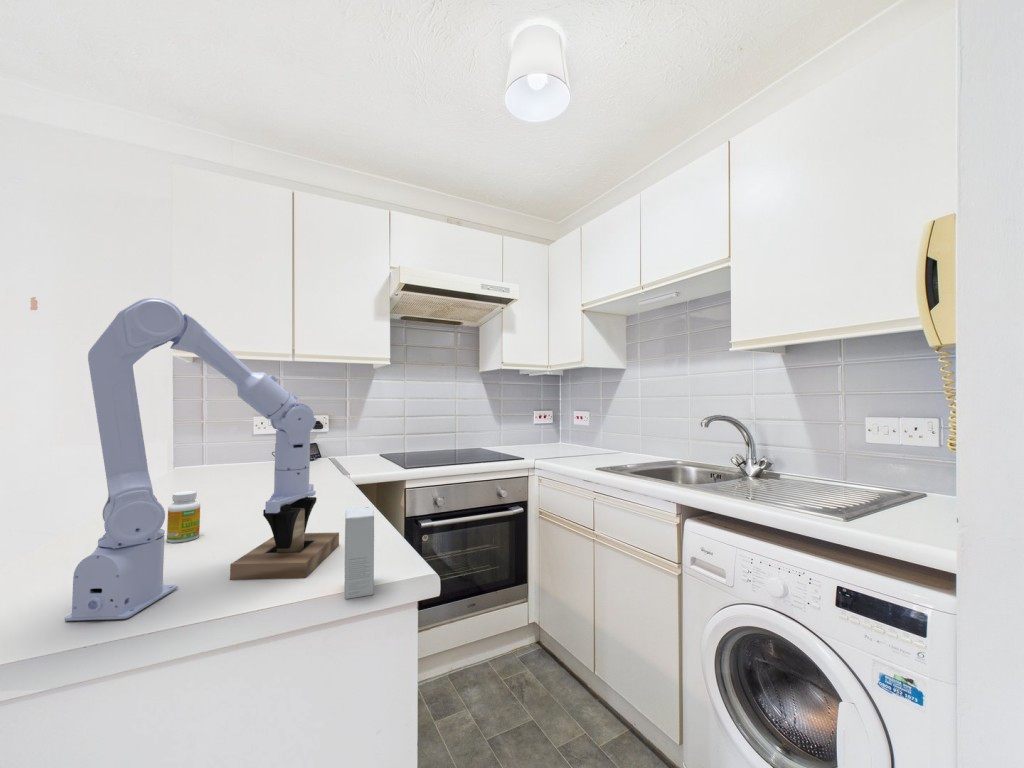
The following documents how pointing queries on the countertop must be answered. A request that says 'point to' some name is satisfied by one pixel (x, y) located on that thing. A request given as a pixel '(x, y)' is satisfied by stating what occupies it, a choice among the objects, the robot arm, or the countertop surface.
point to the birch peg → (297, 534)
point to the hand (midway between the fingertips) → (290, 542)
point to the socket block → (284, 559)
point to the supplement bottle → (183, 517)
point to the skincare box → (359, 552)
